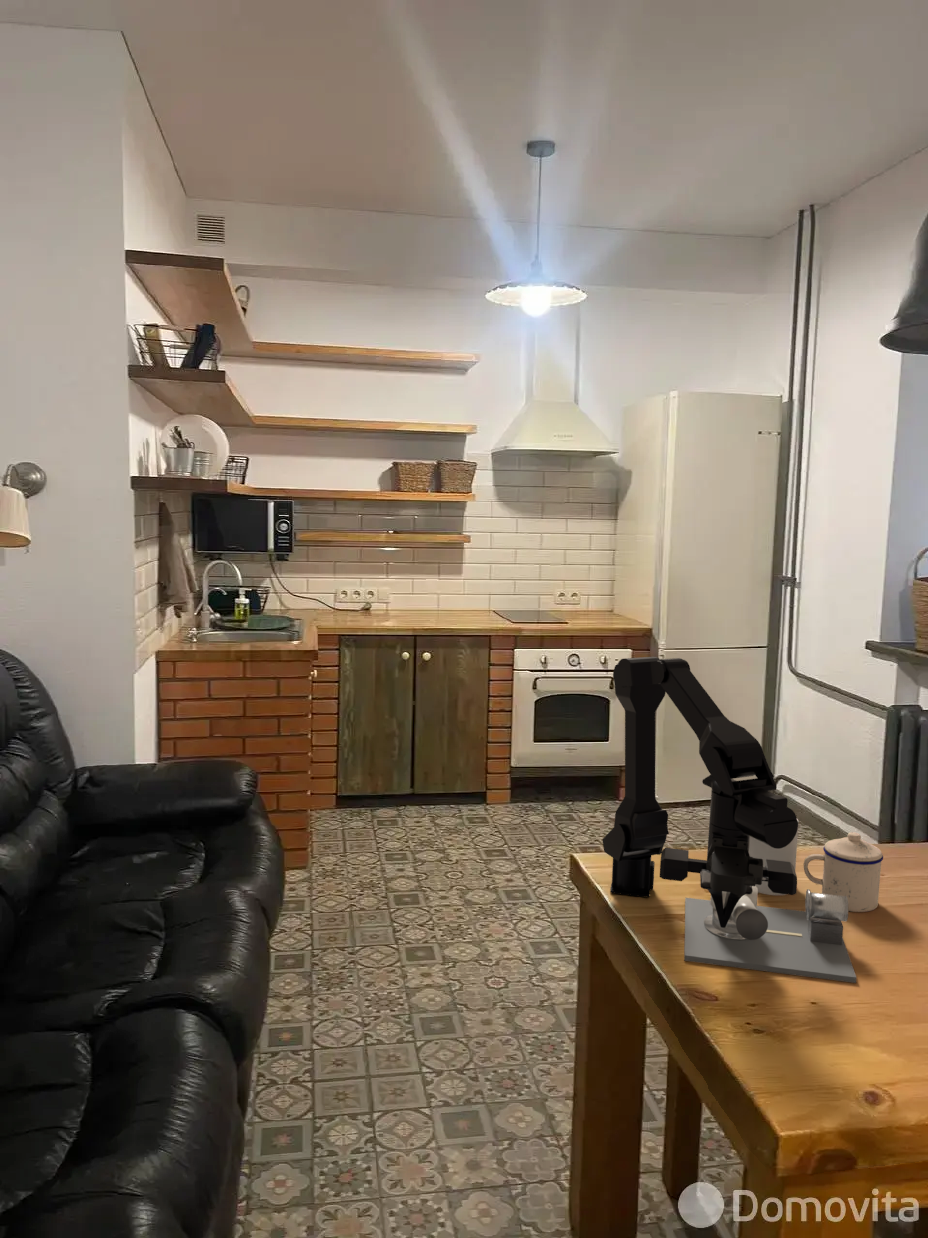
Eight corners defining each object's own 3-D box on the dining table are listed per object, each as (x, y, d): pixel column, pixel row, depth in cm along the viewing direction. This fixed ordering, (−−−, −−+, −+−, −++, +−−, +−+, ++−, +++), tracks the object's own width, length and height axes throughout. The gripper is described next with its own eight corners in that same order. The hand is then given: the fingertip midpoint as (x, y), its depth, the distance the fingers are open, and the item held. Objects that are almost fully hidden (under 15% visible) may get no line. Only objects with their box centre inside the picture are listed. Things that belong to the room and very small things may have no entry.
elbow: (705, 899, 144) (706, 872, 143) (749, 900, 144) (750, 873, 143) (727, 939, 131) (729, 910, 131) (775, 940, 131) (777, 911, 130)
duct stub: (704, 936, 138) (705, 916, 138) (703, 912, 146) (704, 893, 146) (762, 943, 136) (764, 923, 136) (758, 918, 144) (760, 899, 144)
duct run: (806, 943, 136) (810, 896, 135) (803, 929, 141) (806, 884, 140) (846, 947, 135) (849, 901, 134) (841, 934, 139) (844, 888, 138)
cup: (787, 877, 162) (791, 811, 161) (799, 896, 154) (804, 827, 153) (740, 874, 163) (744, 809, 162) (749, 894, 155) (753, 825, 154)
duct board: (684, 960, 132) (684, 954, 132) (685, 902, 151) (685, 896, 151) (856, 983, 127) (856, 976, 127) (834, 919, 146) (834, 914, 146)
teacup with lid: (876, 894, 156) (881, 828, 154) (882, 917, 147) (887, 847, 146) (800, 884, 159) (805, 819, 158) (802, 906, 151) (807, 837, 149)
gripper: (661, 835, 126) (655, 943, 128) (805, 851, 122) (796, 963, 124) (664, 809, 137) (658, 909, 139) (796, 823, 133) (788, 926, 135)
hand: (722, 926), depth 134 cm, fingers closed
